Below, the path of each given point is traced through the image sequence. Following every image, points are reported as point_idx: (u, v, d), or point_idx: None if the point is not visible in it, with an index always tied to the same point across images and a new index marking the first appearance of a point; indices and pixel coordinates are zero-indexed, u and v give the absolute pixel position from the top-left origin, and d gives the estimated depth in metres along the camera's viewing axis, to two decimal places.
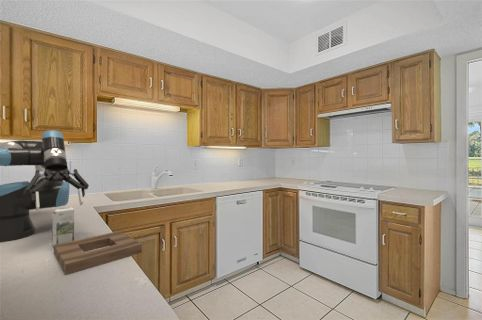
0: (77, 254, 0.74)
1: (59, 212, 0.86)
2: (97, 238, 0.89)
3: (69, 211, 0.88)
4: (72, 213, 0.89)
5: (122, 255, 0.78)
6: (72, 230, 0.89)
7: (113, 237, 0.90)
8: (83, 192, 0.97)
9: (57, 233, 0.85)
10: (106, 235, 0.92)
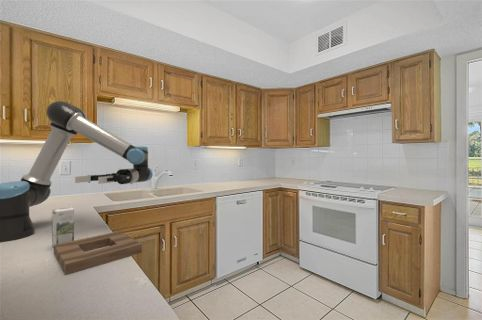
0: (77, 254, 0.74)
1: (59, 212, 0.86)
2: (97, 238, 0.89)
3: (69, 211, 0.88)
4: (72, 213, 0.89)
5: (122, 255, 0.78)
6: (72, 230, 0.89)
7: (113, 237, 0.90)
8: None
9: (57, 233, 0.85)
10: (106, 235, 0.92)
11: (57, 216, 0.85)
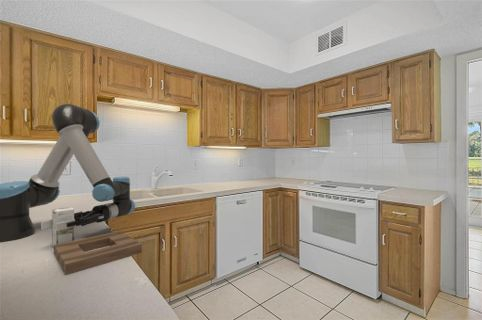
0: (77, 254, 0.74)
1: (59, 212, 0.86)
2: (97, 238, 0.89)
3: (69, 211, 0.88)
4: (72, 213, 0.89)
5: (122, 255, 0.78)
6: (72, 230, 0.89)
7: (113, 237, 0.90)
8: None
9: (57, 233, 0.85)
10: (106, 235, 0.92)
11: (57, 216, 0.85)
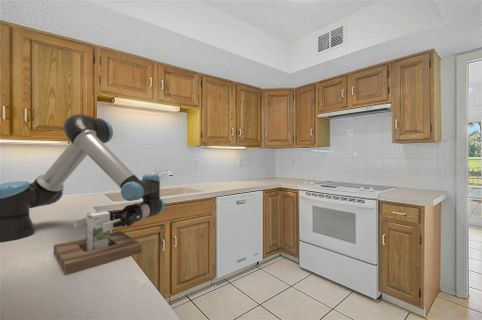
0: (77, 254, 0.74)
1: (95, 216, 0.79)
2: None
3: (105, 215, 0.82)
4: (108, 217, 0.82)
5: (122, 255, 0.78)
6: (108, 235, 0.82)
7: (113, 237, 0.90)
8: None
9: (93, 239, 0.79)
10: None
11: (93, 221, 0.79)
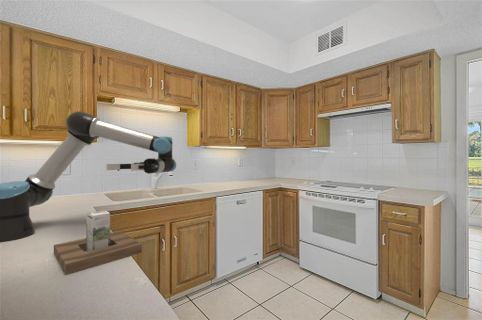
0: (77, 254, 0.74)
1: (95, 216, 0.79)
2: None
3: (105, 215, 0.82)
4: (108, 217, 0.82)
5: (122, 255, 0.78)
6: (108, 235, 0.82)
7: (113, 237, 0.90)
8: None
9: (93, 239, 0.79)
10: None
11: (93, 221, 0.79)
